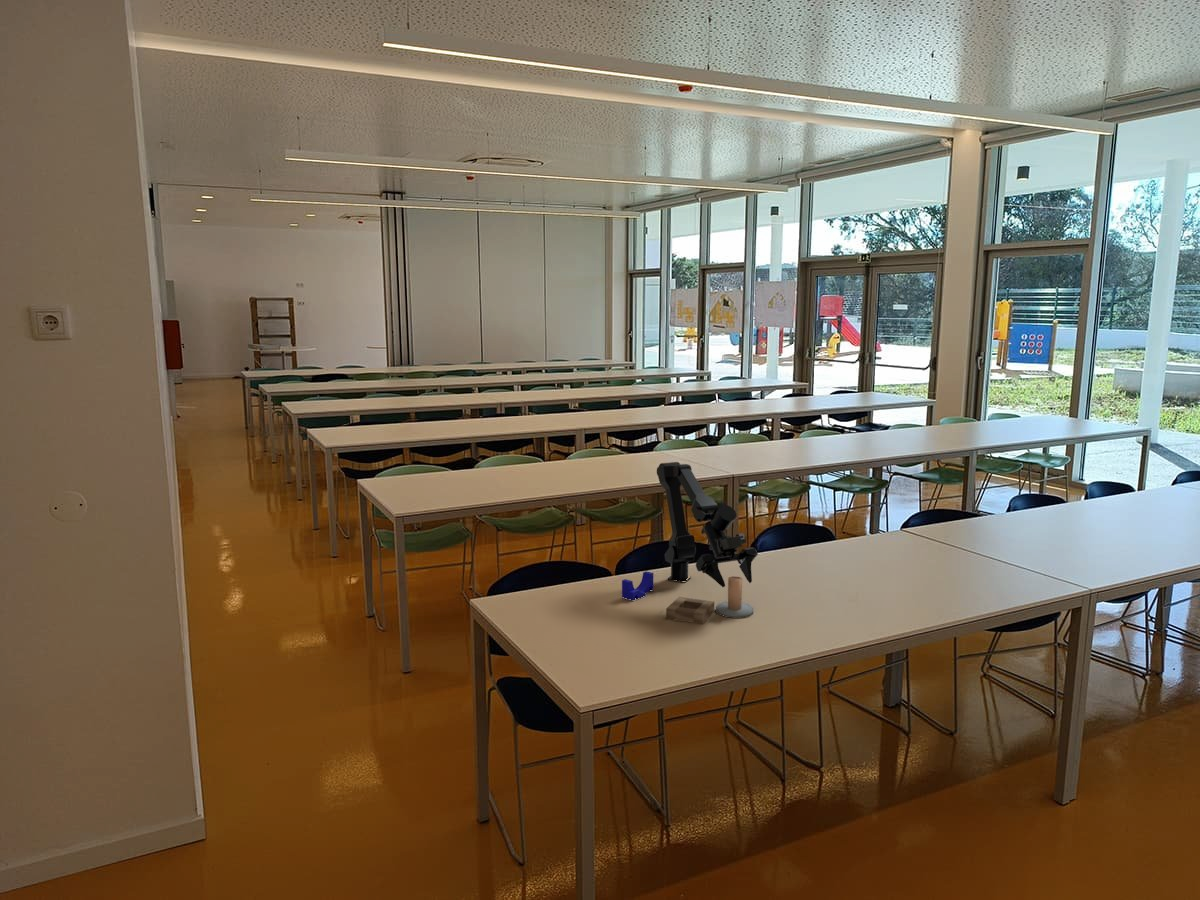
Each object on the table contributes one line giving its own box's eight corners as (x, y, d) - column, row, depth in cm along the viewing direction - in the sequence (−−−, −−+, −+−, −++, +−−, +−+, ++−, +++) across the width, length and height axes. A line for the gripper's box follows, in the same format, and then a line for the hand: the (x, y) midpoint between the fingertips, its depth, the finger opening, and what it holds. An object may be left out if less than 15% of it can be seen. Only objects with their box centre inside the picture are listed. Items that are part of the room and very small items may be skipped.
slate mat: (721, 602, 248) (722, 599, 248) (757, 607, 243) (757, 604, 243) (711, 614, 238) (711, 611, 238) (748, 620, 233) (748, 616, 233)
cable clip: (633, 602, 250) (633, 583, 249) (622, 598, 253) (621, 580, 252) (657, 592, 259) (657, 573, 258) (645, 589, 262) (645, 571, 261)
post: (726, 605, 242) (727, 576, 241) (740, 605, 242) (740, 576, 241) (728, 610, 238) (729, 580, 237) (742, 610, 238) (743, 580, 237)
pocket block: (678, 606, 245) (679, 596, 245) (714, 611, 241) (714, 601, 240) (666, 618, 235) (666, 608, 235) (702, 623, 231) (702, 613, 230)
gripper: (701, 528, 236) (721, 575, 228) (754, 521, 244) (776, 566, 236) (687, 547, 245) (706, 593, 237) (739, 540, 252) (759, 584, 244)
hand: (737, 584), depth 238 cm, fingers open, 9 cm apart
